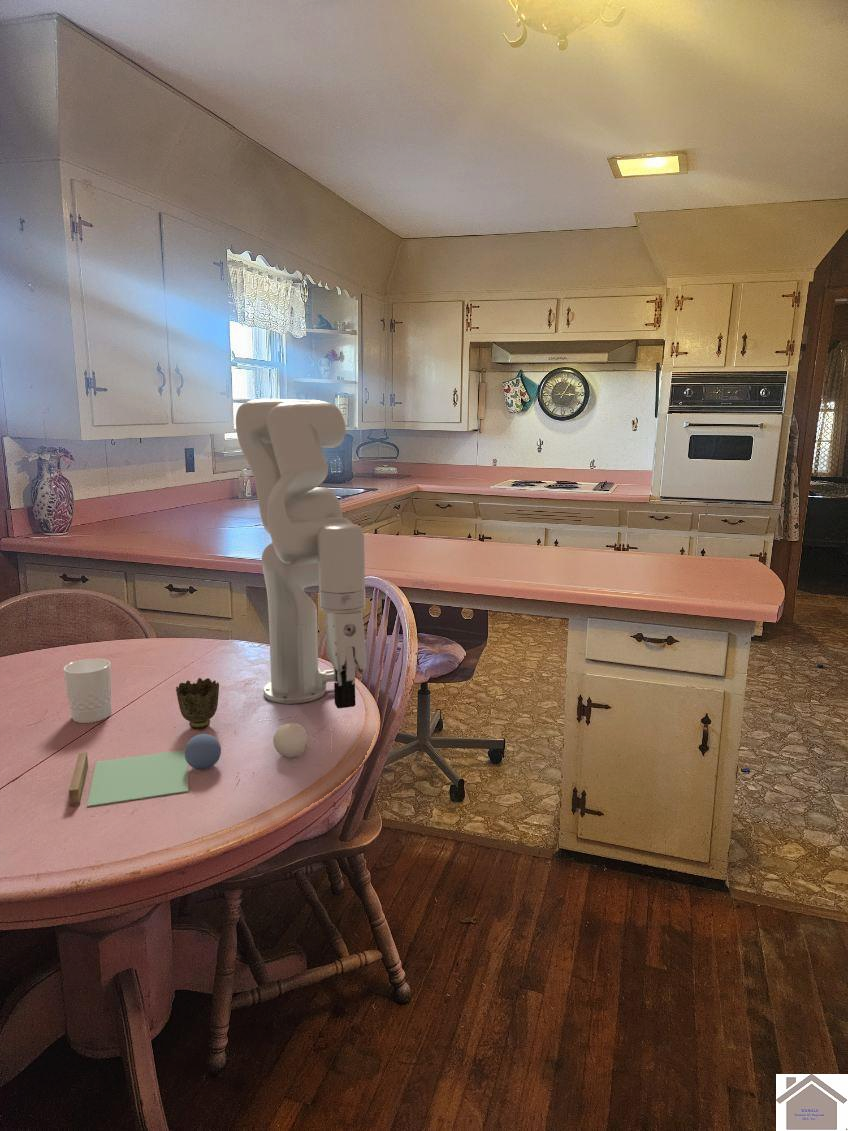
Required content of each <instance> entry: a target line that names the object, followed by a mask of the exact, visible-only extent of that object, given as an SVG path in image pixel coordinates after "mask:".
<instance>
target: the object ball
mask: <svg viewBox="0 0 848 1131" xmlns="http://www.w3.org/2000/svg"><path fill="white" fill-rule="evenodd" d="M184 750H185V759H186V761H187V765H189V767H191V768H192V769H194V770H199V771H203V770H208V769H210V768H212V767H214V766H215V765H216V764H217V763H218V761H219V760H220V757H221V755H222V754H221V753H222V752H221V751H222V747H221V744H220V742H219V740H218V739H217V737H215V736H214V735H211V734H208V733H200V734H199V733H198V734H197V735H195V736H193V737H192V738H191V739H190V740H188V742H187V743H186V745H185V747H184Z"/></svg>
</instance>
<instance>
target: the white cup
mask: <svg viewBox="0 0 848 1131" xmlns="http://www.w3.org/2000/svg"><path fill="white" fill-rule="evenodd" d="M111 668H112V667H111V661H110V660H108V659H106V658H100V657H99V658H96V657H94V658H85V659H80V660H75V661H72V662H69V663H68V664H66V665H65V666H64V667H63V668H62V669H63V675H64V681H65V682H64V683H65V688H66V693H67V694H66V695H67V699H68V700H67V701H68V705H69V709H70V715H71V720H73V721H74V723H75V722H76V723H78V724H79V723H80V724H89V723H90V724H92V723H96V722H100V721H102V720H105V719H107V718H108V717H110V716H111V714H112V672H111V670H112V669H111Z"/></svg>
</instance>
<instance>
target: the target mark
mask: <svg viewBox="0 0 848 1131" xmlns="http://www.w3.org/2000/svg"><path fill="white" fill-rule="evenodd" d="M188 775H189V773H188V763H187V761H186V759H185V749H181V750H174V751H173V750H172V751H165V752H159V753H152V754H151V753H150V754H143V755H136V756H130V757H127V756H126V757H122V758H121V757H120V758H114V759H107V760H98V761H95V766H94V771H93V775H92V780H91V785H90V788H89V794H88V800H87V805H86V807H87V808H90V807H91V808H92V807H96V806H103V805H109V804H116V803H122V802H123V803H124V802H130V801H136V800H143V799H149V798H156V797H163V796H170V795H175V794H184V793H188V792H189V776H188Z"/></svg>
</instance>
